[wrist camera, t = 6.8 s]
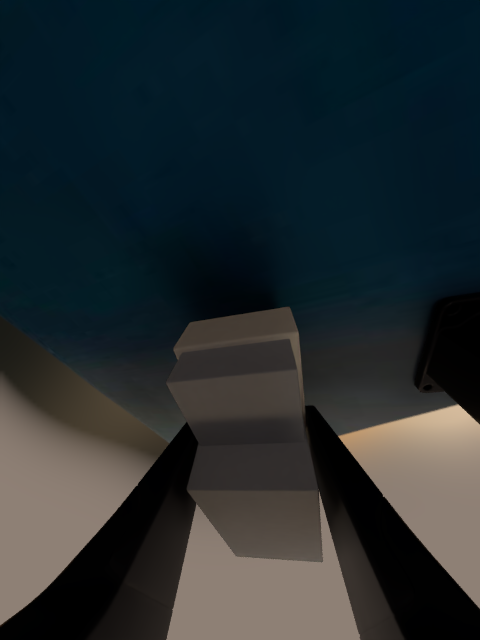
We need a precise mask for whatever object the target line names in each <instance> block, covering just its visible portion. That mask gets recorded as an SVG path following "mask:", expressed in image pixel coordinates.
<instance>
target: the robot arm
mask: <svg viewBox="0 0 480 640" xmlns="http://www.w3.org/2000/svg"><path fill="white" fill-rule="evenodd" d="M450 307H452V308H451V309H449V308H450ZM414 385H415V386H416V388H417V389H418V390H419V391H420V392H422V393H431V392H444V391H445V392H446V393H447V394H448V395H449V396H450V397H451V398H452V399H453V400H454V401H456V402H457V403H458V404H459V405H460V406H461V407H462V408H463V409H464V410H465V411H466V412H467V413H468V414H469V415H470V416H472V418H474V419H475V420H476V421H477V422H478V423H479V424H480V293H479V294H472V295H465V296H459V297H452V298H447V299H444V300H443V301H441V302H440V303H439V304H438V305H437V307H436V309H435V312H434V316H433V320H432V323H431V327H430V330H429V334H428V337H427V341H426V344H425V348H424V351H423V355H422V358H421V362H420V365H419V369H418V372H417V376H416V379H415V383H414ZM305 410H306V435H307V439H308V444H309V448H310V453H311V457H312V462H313V466H314V471H315V475H316V480H317V484H318V489H319V492H320V496H321V499H322V503H323V506H324V510H325V513H326V517H327V521H328V524H329V528H330V532H331V535H332V539H333V542H334V546H335V550H336V553H337V556H338V560H339V564H340V567H341V571H342V575H343V578H344V582H345V585H346V589H347V593H348V596H349V600H350V603H351V607H352V611H353V614H354V618H355V621H356V625H357V629H358V632H359V634H360V639H361V640H480V609H479V608H478V606H477V605H476V604H475V603H474V602H473V601H472V600H471V598H470V597H469V596H468V595H467V594H466V593H465V592H464V591H463V589H462V588H461V587H460V586H459V585H458V584H457V583H456V581H455V580H454V579H453V578H452V577H451V576H450V575H449V574H448V572H447V571H446V570H445V569H444V568H443V567H442V566H441V564H440V563H439V562H438V561H437V560H436V559H435V558H434V557H433V555H432V554H431V553H430V552H429V551H428V550H427V548H426V547H425V546H424V545H423V544H422V543H421V541H420V540H419V539H418V538H417V537H416V536H415V534H414V533H413V532H412V531H411V530H410V529H409V527H408V526H407V525H406V523H405V522H404V521H403V520H402V518H401V517H400V516H399V515H398V513H397V512H396V511H395V510H394V508H393V507H392V506H391V505H390V503H389V502H388V500H387V499H386V498H385V497H383V494H382V493H381V492H380V491H379V489H378V488H377V487H376V485H375V484H374V482H373V481H372V480H371V479H370V477H369V476H368V475H367V474H366V472H365V471H364V470H363V468H362V467H361V466H360V465H359V463H358V462H357V461H356V459H355V458H354V457H353V455H352V454H351V453H350V452H349V450H348V449H347V448H346V446H345V445H344V444H343V442H342V441H341V440H340V438H339V437H338V436H337V435H336V433H335V432H334V431H333V429H332V428H331V427H330V426H329V424H328V423H327V422H326V420H325V419H324V418H323V416H322V415H321V414H320V413H319V411H318V410H317V409H316V407H315V406H313V405H307V406H305ZM197 447H198V441H197V439H196V437H195V435H194V434H193V432H192V430H191V428H190V426H189V425H188V423H187V422H186V423H185V425H184V426H183V427H182V429H181V430H180V431H179V432H178V434H177V435H176V436H175V437H174V439H173V440H172V441H171V443H170V444H169V445H168V446H167V448H166V449H165V450H164V451H163V453H162V454H161V455H160V457H159V458H158V459H157V460H156V462H155V463H154V464H153V466H152V467H151V468H150V469H149V471H148V472H147V473H146V474H145V476H144V477H143V478H142V480H141V481H140V482H139V483H138V486H136V487H135V488H134V489H133V491H132V492H131V493H130V495H129V496H128V497H127V498H126V500H125V501H124V502H123V503H122V505H121V506H120V507H119V508H118V509H117V511H116V512H115V513H114V514H113V515H112V516H111V518H110V519H109V520H108V521H107V522H106V523H105V524H104V526H103V527H102V528H101V529H100V530H99V531H98V532H97V534H96V535H95V536H94V537H93V538H92V539H91V540H90V541H89V543H88V544H87V545H86V546H85V547H84V548H83V549H82V550H81V551H80V552H79V554H78V555H77V556H76V557H75V558H74V559H73V560H72V561H71V562H70V564H69V565H68V566H67V567H66V568H65V569H64V570H63V571H62V573H61V574H60V575H59V576H58V577H57V578H56V579H55V580H54V581H53V582H52V583H51V584H50V585H49V586H48V587H47V588H46V589H45V590H44V591H43V592H42V593H41V594H40V595H39V596H38V597H36V598H35V599H34V600H33V601H32V602H31V603H29V604H28V605H27V606H26V607H24V608H23V609H22V610H20V611H19V612H18V613H16V614H15V615H14V616H12V617H11V618H10V619H8V620H7V621H6V622H4V623H3V624H2V625H0V640H166V639H167V633H168V630H169V625H170V621H171V616H172V611H173V610H172V609H173V607H174V601H175V598H176V593H177V589H178V584H179V580H180V575H181V570H182V566H183V562H184V557H185V553H186V548H187V543H188V539H189V534H190V530H191V526H192V521H193V516H194V512H195V508H196V502H195V501H194V499H193V498H192V497H191V495H190V494H189V493H188V491H187V485H188V482H189V478H190V474H191V470H192V466H193V462H194V459H195V455H196V451H197Z"/></svg>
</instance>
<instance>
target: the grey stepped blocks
mask: <svg viewBox="0 0 480 640" xmlns="http://www.w3.org/2000/svg"><path fill="white" fill-rule="evenodd" d="M173 350H174V353H175V355H176V357H177V359H178V361H177V363H176V365H175V366H174V368H173V370H172V372H171V374H170V375H169V377H168V379H167V381H166V384H167V386H168V388H169V390H170V392H171V394H172V395H173V397H174V399H175V401H176V403H177V404H178V406H179V408H180V410H181V412H182V414H183V415H184V417H185V419H186V421H187V423H188V425H189V426H190V428H191V430H192V432H193V434H194V435H195V437H196V439H197V441H198V447H197V451H196V455H195V459H194V462H193V466H192V470H191V474H190V478H189V482H188V485H187V491H188V493H189V494H190V495H191V497H192V498H193V499H194V501H195V502H196V503H197V505H198V506H199V507H200V509H201V510H202V511H203V513H204V514H205V515H206V517H207V518H208V519H209V521H210V522H211V523H212V525H213V526H214V527H215V529H216V530H217V531H218V533H219V534H220V535H221V537H222V538H223V539H224V541H225V542H226V543H227V545H228V546H229V547H230V549H231V550H232V551H233V553H234V554H235V555H236V556H239V557H253V558H268V559H282V560H297V561H313V562H323V557H322V540H321V523H320V506H319V489H318V484H317V480H316V475H315V471H314V466H313V462H312V457H311V453H310V448H309V444H308V439H307V435H306V410H305V399H304V387H303V376H302V365H301V354H300V342H299V332H298V330H297V327H296V324H295V321H294V318H293V315H292V312H291V309H290V307H283V308H277V309H271V310H264V311H258V312H252V313H246V314H239V315H233V316H227V317H220V318H214V319H208V320H201V321H195V322H190V323H189V324H188V326H187V328H186V329H185V331H184V332H183V334H182V336H181V337H180V339H179V340H178V342H177V343H176V345H175V347H174V349H173Z"/></svg>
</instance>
